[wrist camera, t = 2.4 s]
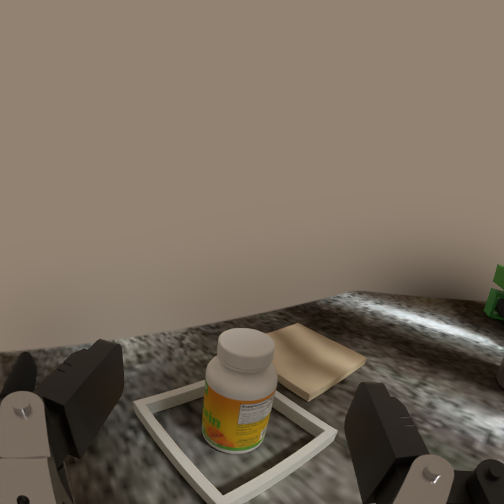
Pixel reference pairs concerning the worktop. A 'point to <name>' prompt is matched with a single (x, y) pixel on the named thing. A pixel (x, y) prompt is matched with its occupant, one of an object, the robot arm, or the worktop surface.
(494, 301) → the tank
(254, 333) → the supplement bottle
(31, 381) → the electric trimmer
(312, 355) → the pad
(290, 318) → the worktop surface
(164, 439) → the square frame
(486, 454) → the worktop surface
